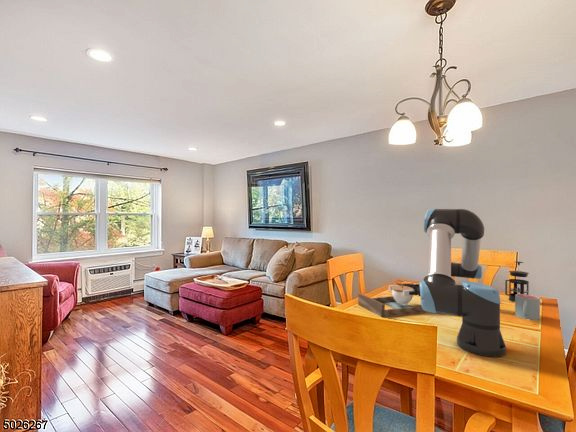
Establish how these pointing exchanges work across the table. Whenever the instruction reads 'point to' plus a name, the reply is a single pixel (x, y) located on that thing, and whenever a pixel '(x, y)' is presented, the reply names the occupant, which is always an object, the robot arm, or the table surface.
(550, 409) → the table surface
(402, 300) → the lidded jar
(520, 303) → the mug
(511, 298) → the french press
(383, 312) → the bay
